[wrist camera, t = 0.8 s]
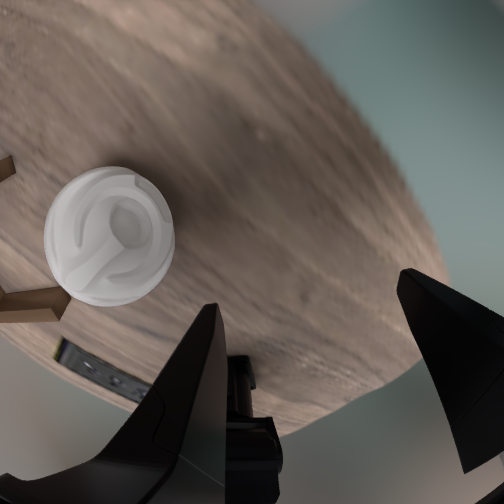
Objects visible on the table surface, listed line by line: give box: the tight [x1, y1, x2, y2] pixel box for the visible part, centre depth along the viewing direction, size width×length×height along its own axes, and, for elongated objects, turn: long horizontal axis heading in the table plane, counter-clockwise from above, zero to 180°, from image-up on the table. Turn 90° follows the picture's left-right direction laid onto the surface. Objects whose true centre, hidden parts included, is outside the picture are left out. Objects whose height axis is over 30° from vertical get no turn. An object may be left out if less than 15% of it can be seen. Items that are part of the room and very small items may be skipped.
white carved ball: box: [44, 166, 175, 307], centre depth 15 cm, size 8×8×8 cm
